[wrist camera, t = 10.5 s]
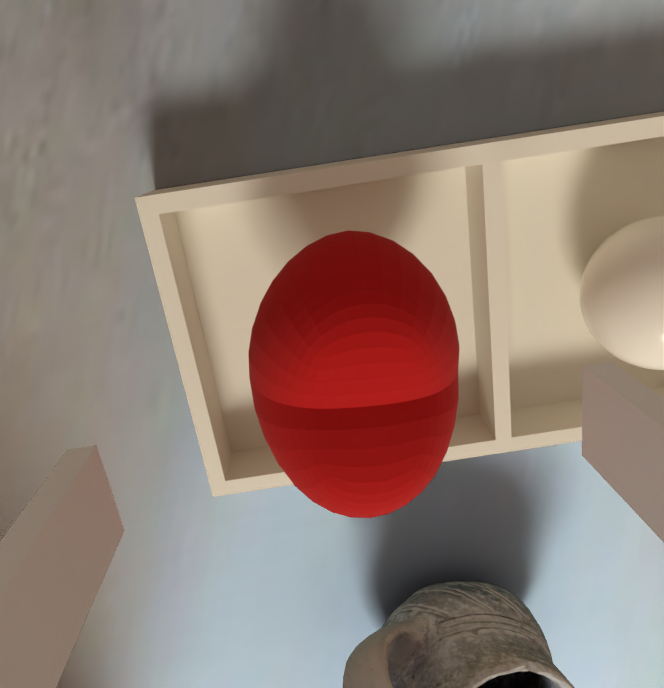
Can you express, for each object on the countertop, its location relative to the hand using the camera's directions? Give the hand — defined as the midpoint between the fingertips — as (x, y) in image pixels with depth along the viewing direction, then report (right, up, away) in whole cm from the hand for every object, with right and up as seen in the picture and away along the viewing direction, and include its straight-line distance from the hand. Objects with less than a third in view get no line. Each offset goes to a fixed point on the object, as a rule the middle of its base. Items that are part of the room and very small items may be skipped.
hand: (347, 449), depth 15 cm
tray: (+6, +5, +10) cm, 13 cm away
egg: (+12, +6, +10) cm, 17 cm away
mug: (+5, -12, +17) cm, 21 cm away
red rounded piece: (0, +4, +10) cm, 11 cm away
